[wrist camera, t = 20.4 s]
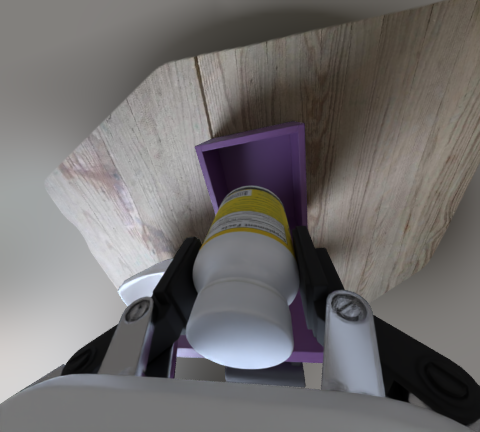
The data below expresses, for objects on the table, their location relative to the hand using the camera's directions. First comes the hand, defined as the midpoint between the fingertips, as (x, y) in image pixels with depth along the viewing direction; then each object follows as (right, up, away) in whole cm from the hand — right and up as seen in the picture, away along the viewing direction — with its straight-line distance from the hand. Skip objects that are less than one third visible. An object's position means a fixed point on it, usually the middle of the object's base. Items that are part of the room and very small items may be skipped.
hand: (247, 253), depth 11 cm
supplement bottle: (+1, +2, +4) cm, 5 cm away
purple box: (+3, +9, +23) cm, 24 cm away
